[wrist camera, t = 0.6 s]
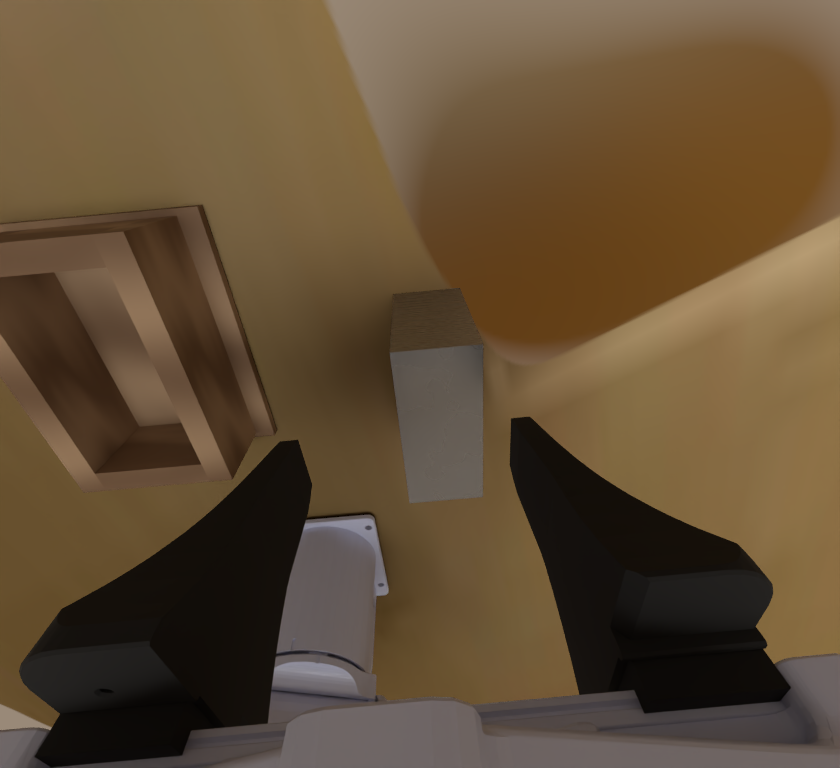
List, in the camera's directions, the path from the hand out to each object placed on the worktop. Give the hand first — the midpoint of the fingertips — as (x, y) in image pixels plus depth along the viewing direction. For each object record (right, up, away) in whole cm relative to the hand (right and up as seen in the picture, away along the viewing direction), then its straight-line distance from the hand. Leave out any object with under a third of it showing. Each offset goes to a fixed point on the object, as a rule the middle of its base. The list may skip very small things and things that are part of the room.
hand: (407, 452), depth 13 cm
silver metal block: (+1, +4, +9) cm, 10 cm away
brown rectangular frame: (-14, +5, +8) cm, 17 cm away
